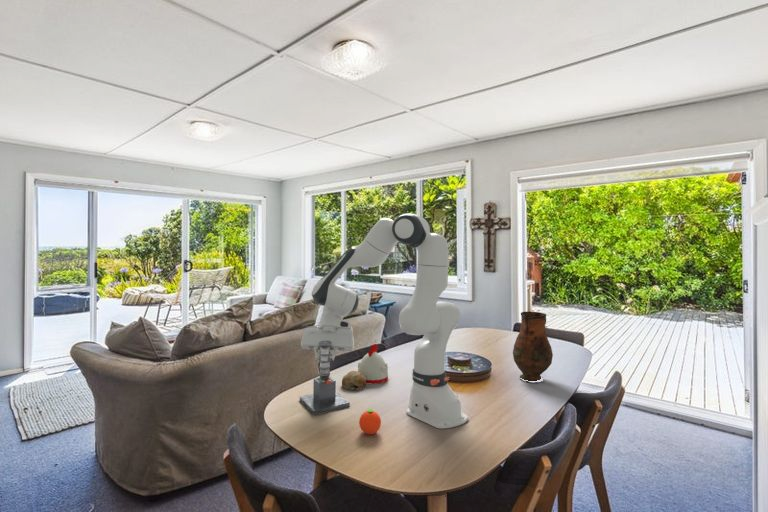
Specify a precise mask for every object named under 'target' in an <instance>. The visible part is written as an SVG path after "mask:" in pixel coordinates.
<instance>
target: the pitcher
mask: <svg viewBox="0 0 768 512" xmlns="http://www.w3.org/2000/svg"><path fill="white" fill-rule="evenodd" d="M520 317H521V320H520V321H521V324H520V330H519V332H518V334H517V336H516V339H515V341H514V344H513V348H512V356H513V361H514V363H515V365H516V367H517V368H518V370H520V372H521V373H522V374H520V375H519V377H520V378H522V379H524V380H528V381H537V380H540V379H541V377H542V376H541V375H542V374H543V373H545V372H546V371H547V370H548V369H549V368H550V367H551V365H552V363H553V356H554V355H553V348H552V346H551V343H550V341H549V339H548V336H547V333H546V331H547V330H546V323H547V313H544V312H539V311H538V312H537V311H522V312H520ZM520 378H519V379H520Z"/></svg>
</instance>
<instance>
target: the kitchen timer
mask: <svg viewBox="0 0 768 512" xmlns="http://www.w3.org/2000/svg"><path fill="white" fill-rule="evenodd" d="M378 348H379V346H378V344H377V343H374V344H371V346H370V348H369V351H368V352H367V353H366V354H364V356H363V357H362V359H361V360H360V362H358V364H357V371H358V372H360V373H361V374H362V375H363V376H364V377H365V379H366V384H367V383H372V384H371V385H376V384H375V383H378V384H382V382H383V383H385V382H387V381H388V380H389V372H388V370H389V369H388V368H389V367H388V363H386V362H385V359H384V358H383V357H382V356H381V354H379V353H378Z"/></svg>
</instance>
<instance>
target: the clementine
mask: <svg viewBox="0 0 768 512" xmlns="http://www.w3.org/2000/svg"><path fill="white" fill-rule="evenodd" d="M358 422H359V423H358V425H359V428H360V430H361V431H362V432H363V433H365V434H366V435H374V434H375V433H377V432H378V431H379V430H380V428H381V425H382V419H381V416H380V414H378V412H376V411H375V410H373V409H371V408H370V409H368V408H367V410H366V411H364V412H363V413H362V414H361V415H360V417H359V421H358Z"/></svg>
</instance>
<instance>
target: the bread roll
mask: <svg viewBox="0 0 768 512" xmlns="http://www.w3.org/2000/svg"><path fill="white" fill-rule="evenodd" d="M366 384H367V383H366V379H365V377H364V376H363V375H362V374H361V373H360V372H358V370H351V371H349V372H347V374H345V375H344V376H343V377H342V379H341V386H342V387H343V388H345V389H346V388H347V390H350V389H351V391H354V389H356V390H361V389H360V388H362V389H364V388H365V387H366V386H367V385H366ZM363 387H364V388H363Z"/></svg>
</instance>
